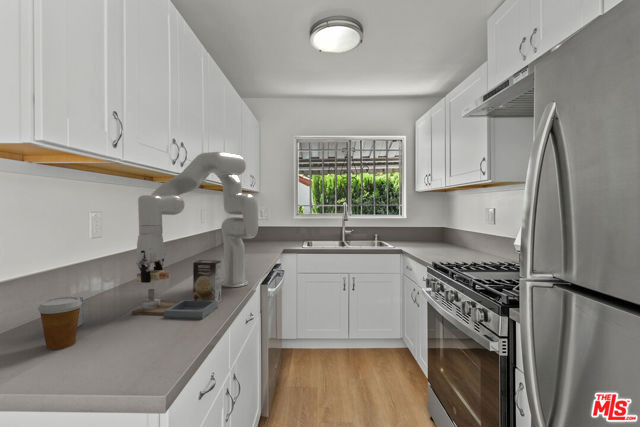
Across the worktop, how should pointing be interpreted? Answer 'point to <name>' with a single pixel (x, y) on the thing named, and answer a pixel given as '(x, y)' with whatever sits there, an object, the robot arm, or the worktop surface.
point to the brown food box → (207, 280)
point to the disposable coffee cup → (60, 321)
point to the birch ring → (156, 275)
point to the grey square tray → (191, 309)
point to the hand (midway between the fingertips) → (152, 279)
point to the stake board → (157, 311)
